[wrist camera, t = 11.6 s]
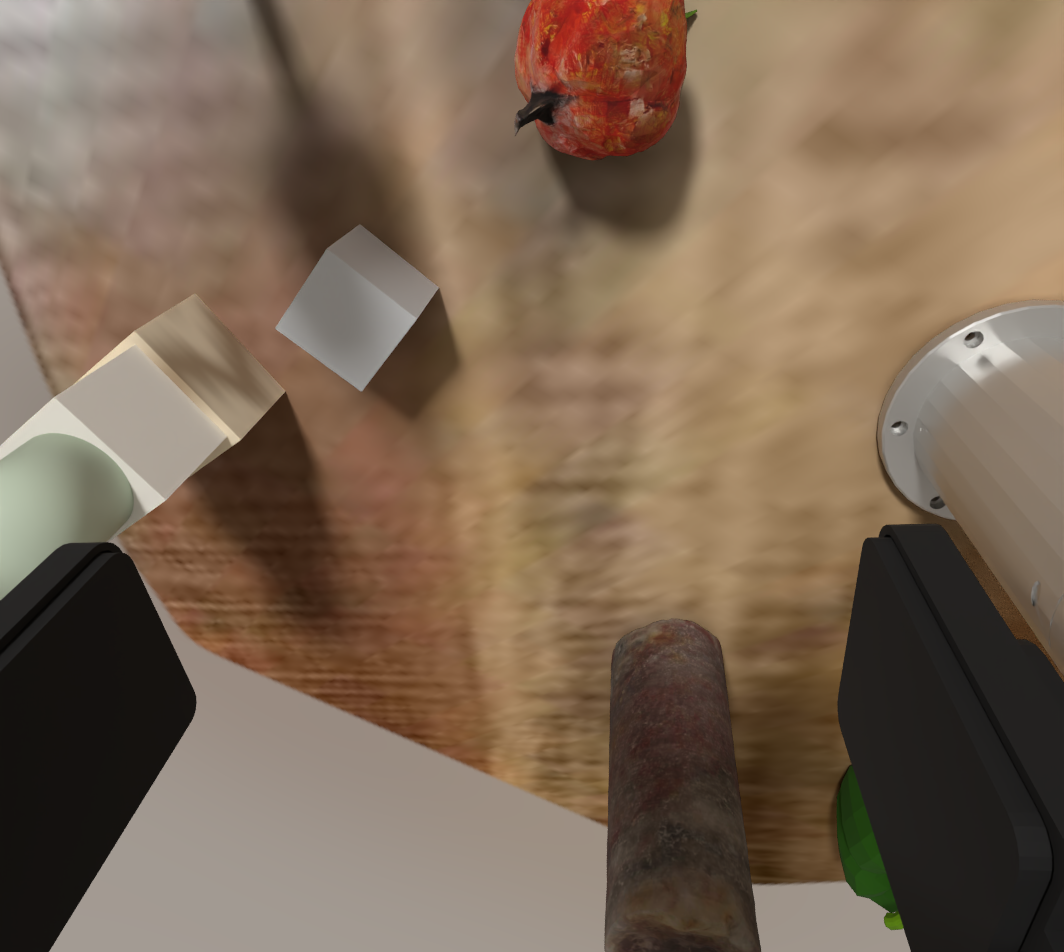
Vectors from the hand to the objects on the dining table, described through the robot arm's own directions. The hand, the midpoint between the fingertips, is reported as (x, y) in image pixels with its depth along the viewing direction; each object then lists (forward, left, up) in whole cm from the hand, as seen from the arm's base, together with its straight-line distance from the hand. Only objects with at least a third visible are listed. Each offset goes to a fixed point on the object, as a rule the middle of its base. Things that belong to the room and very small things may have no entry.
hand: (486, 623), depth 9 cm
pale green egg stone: (+4, +24, -18) cm, 30 cm away
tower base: (+4, +24, -30) cm, 39 cm away
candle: (-28, +12, -31) cm, 43 cm away
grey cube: (+2, +12, -30) cm, 33 cm away
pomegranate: (+4, -4, -31) cm, 31 cm away
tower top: (+4, +24, -24) cm, 34 cm away
